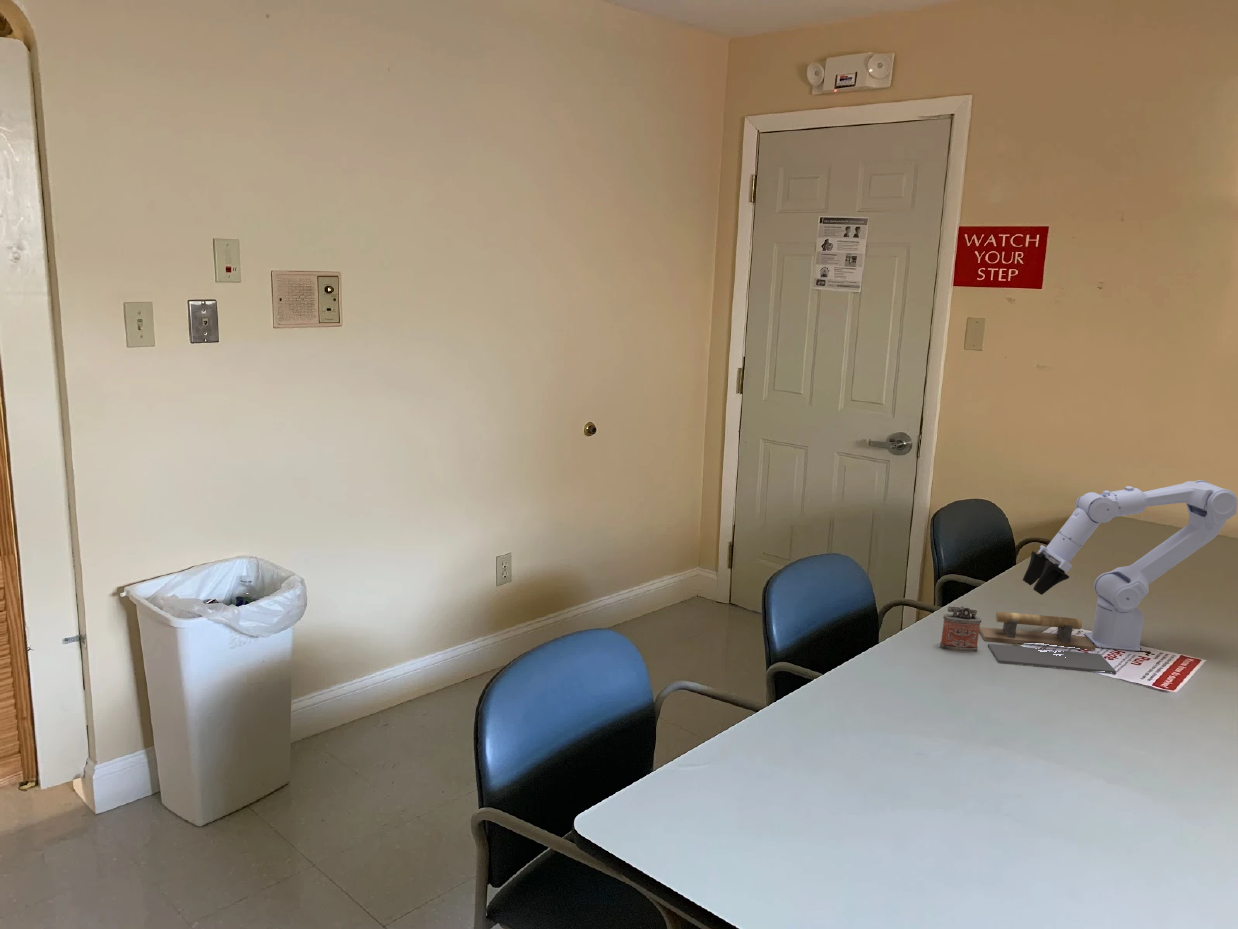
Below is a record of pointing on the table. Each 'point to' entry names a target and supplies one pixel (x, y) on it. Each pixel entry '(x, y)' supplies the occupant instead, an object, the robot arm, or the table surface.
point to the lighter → (960, 629)
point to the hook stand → (1035, 636)
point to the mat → (1050, 658)
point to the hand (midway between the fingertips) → (1031, 587)
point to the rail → (1038, 620)
